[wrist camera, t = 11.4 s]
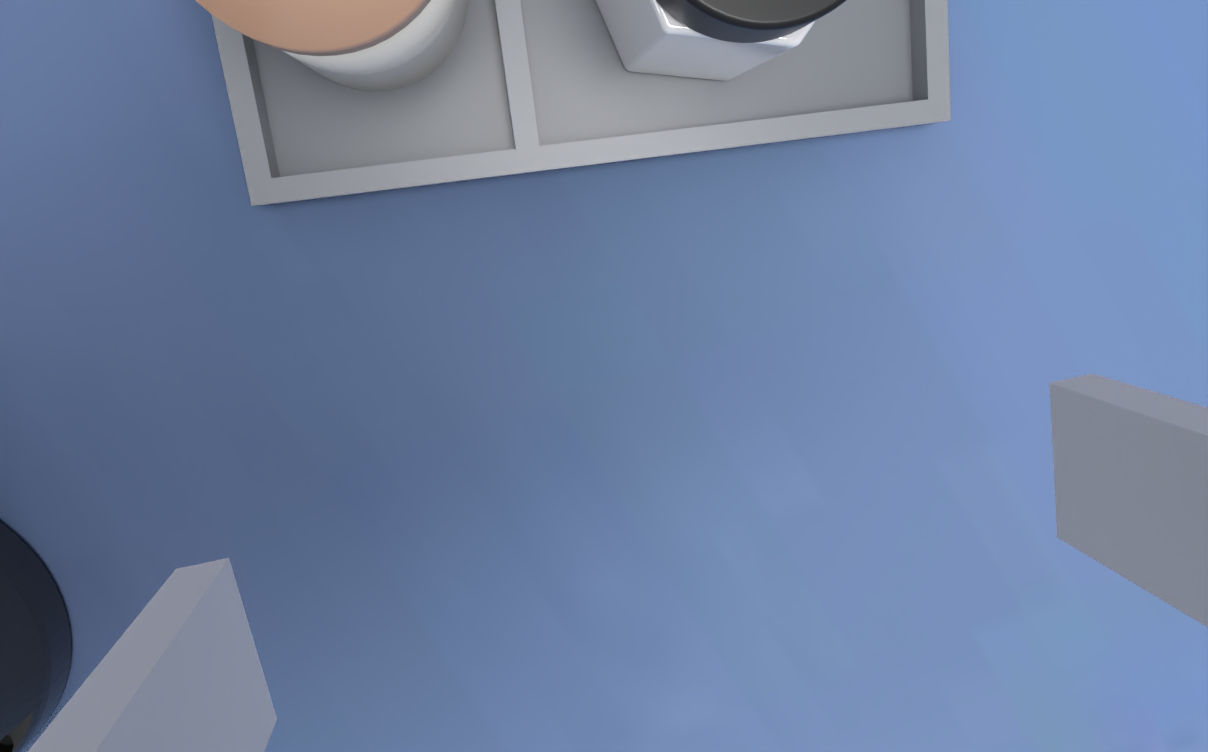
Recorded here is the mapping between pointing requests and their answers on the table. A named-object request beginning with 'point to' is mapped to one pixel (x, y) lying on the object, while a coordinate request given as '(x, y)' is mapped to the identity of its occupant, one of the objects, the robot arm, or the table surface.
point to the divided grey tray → (570, 100)
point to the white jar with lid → (353, 35)
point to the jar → (707, 33)
